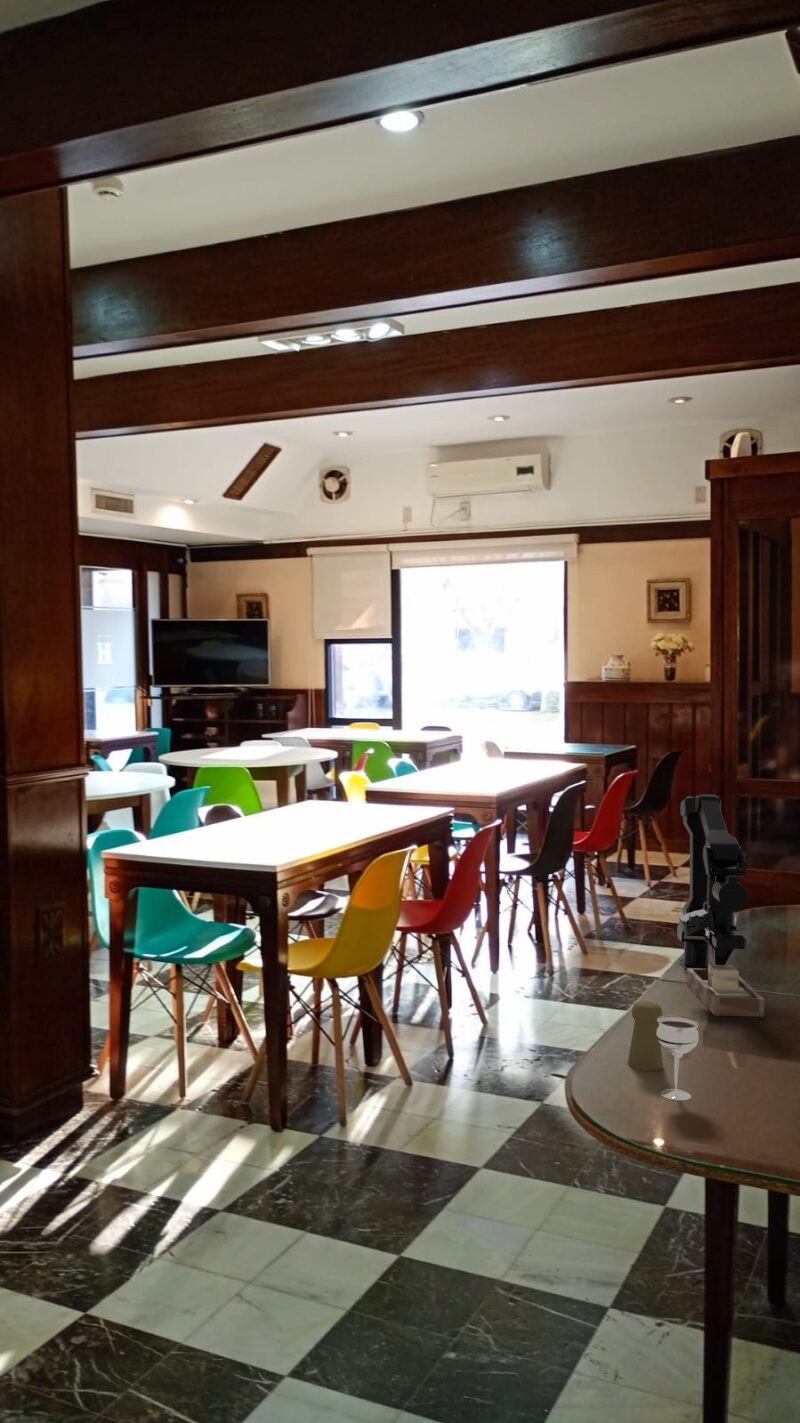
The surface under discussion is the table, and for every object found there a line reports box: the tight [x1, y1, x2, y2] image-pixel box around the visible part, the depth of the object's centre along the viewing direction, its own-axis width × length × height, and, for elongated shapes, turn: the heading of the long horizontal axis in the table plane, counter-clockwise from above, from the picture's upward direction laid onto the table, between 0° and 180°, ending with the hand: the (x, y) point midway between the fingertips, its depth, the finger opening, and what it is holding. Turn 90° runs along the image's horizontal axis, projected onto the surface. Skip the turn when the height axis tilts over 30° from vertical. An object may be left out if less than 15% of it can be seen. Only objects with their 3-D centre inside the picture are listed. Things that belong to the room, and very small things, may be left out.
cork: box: [627, 1000, 664, 1072], centre depth 202 cm, size 6×6×11 cm
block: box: [708, 964, 740, 990], centre depth 244 cm, size 5×5×4 cm
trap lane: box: [685, 968, 765, 1017], centre depth 243 cm, size 23×10×4 cm, turn 0°
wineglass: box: [656, 1015, 700, 1101], centre depth 188 cm, size 7×7×12 cm
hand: (718, 971), depth 248 cm, fingers closed
